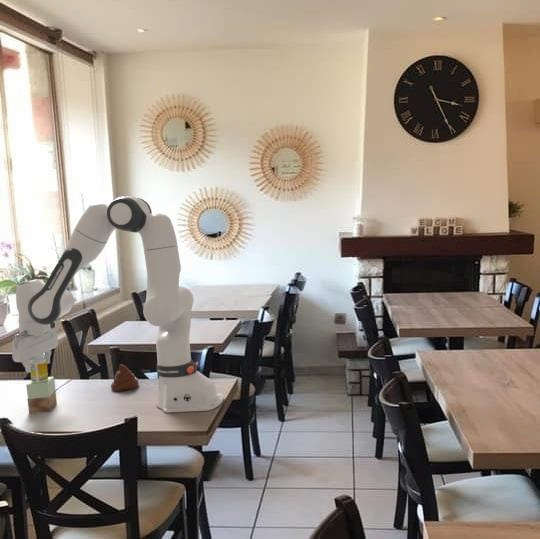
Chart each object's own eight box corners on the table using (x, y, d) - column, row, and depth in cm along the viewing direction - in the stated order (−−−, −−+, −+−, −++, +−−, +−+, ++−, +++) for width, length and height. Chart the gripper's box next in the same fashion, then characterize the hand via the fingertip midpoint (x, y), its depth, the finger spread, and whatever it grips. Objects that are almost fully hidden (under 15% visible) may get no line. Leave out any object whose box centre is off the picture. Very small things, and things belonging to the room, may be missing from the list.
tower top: (55, 390, 201) (53, 376, 201) (49, 397, 194) (47, 382, 194) (34, 392, 201) (33, 378, 200) (27, 398, 194) (26, 384, 193)
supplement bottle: (29, 383, 194) (26, 356, 193) (34, 379, 199) (30, 352, 198) (46, 382, 194) (42, 354, 193) (50, 377, 200) (47, 350, 199)
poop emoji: (113, 393, 209) (110, 368, 208) (109, 387, 217) (107, 363, 216) (140, 388, 213) (138, 364, 212) (136, 382, 221) (134, 358, 220)
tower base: (57, 404, 202) (55, 390, 201) (49, 411, 195) (48, 397, 194) (36, 405, 202) (35, 392, 201) (29, 413, 195) (27, 398, 194)
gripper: (21, 335, 184) (26, 377, 185) (59, 321, 203) (63, 359, 205) (4, 335, 185) (9, 377, 187) (43, 321, 205) (48, 359, 207)
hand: (38, 367), depth 196 cm, fingers open, 8 cm apart
